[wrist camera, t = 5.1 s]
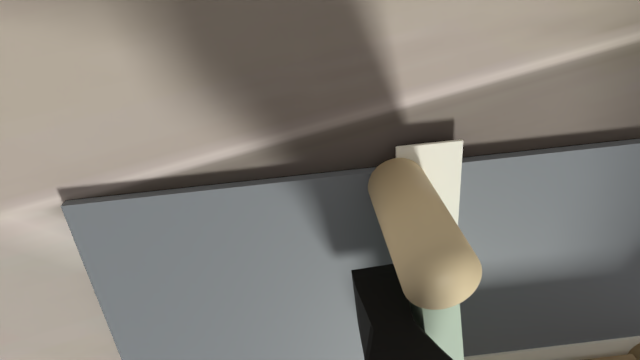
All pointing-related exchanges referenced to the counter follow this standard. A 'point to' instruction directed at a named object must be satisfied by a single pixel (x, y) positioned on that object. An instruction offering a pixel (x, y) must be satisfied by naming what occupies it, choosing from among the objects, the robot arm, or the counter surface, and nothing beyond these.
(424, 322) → the green slab with caps
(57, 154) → the counter surface
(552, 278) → the card
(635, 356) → the fixed fence section
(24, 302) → the counter surface
